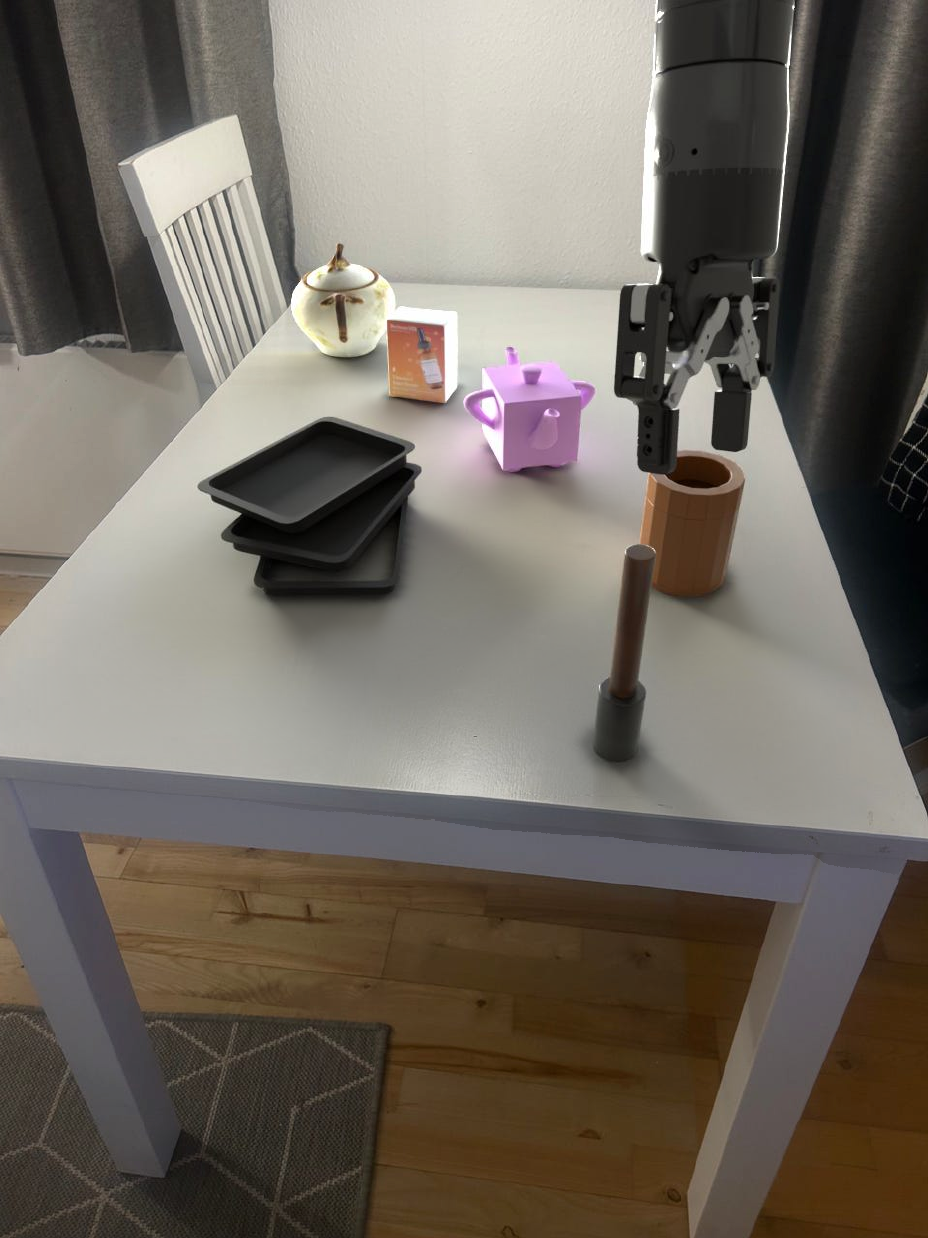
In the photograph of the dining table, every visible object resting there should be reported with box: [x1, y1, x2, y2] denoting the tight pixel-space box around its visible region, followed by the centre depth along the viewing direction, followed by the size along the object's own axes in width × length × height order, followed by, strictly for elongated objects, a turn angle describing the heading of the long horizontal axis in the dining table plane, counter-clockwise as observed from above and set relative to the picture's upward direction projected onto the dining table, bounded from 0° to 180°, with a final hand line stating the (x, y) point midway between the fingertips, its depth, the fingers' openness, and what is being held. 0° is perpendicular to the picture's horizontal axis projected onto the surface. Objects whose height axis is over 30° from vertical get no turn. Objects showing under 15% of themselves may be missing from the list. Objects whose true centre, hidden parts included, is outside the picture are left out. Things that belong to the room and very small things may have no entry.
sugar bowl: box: [290, 242, 396, 358], centre depth 131 cm, size 20×15×15 cm
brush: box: [592, 543, 656, 763], centre depth 65 cm, size 3×3×18 cm
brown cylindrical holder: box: [638, 449, 746, 597], centre depth 85 cm, size 8×8×11 cm
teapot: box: [463, 346, 596, 473], centre depth 105 cm, size 15×13×11 cm
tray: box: [196, 416, 423, 596], centre depth 95 cm, size 30×23×5 cm
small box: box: [386, 305, 458, 404], centre depth 120 cm, size 8×6×10 cm
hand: (694, 460), depth 56 cm, fingers open, 8 cm apart
